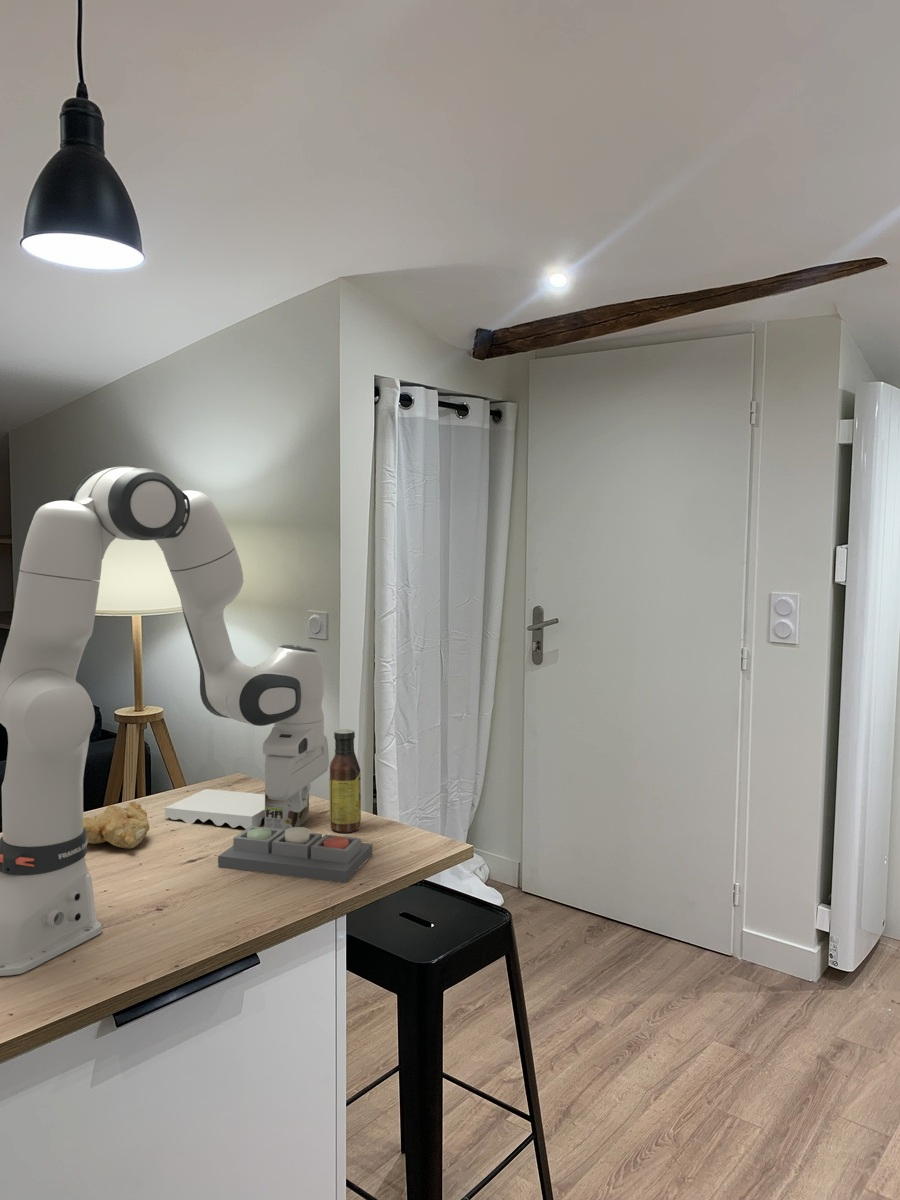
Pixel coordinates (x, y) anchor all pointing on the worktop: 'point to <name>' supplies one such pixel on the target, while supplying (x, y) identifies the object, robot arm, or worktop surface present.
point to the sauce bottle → (345, 784)
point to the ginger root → (118, 826)
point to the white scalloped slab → (220, 808)
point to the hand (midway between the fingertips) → (299, 809)
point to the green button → (259, 833)
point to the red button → (336, 842)
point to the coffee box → (283, 814)
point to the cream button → (297, 835)
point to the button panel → (296, 856)
